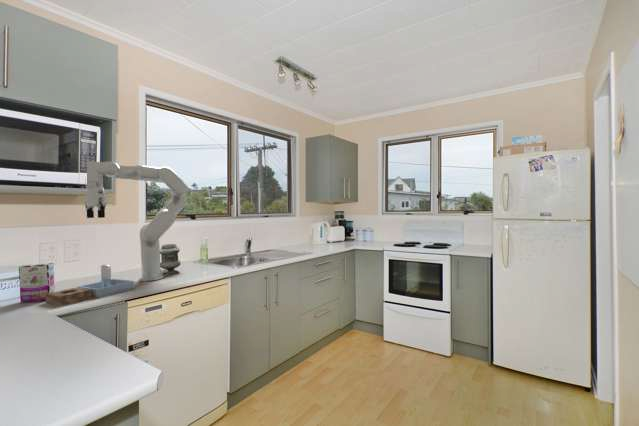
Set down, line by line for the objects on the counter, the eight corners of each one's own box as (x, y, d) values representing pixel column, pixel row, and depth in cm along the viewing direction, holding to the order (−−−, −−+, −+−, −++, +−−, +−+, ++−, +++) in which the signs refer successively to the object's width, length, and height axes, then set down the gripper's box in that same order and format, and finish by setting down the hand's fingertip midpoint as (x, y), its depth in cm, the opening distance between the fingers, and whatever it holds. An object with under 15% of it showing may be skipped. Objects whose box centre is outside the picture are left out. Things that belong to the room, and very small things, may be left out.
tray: (114, 286, 169) (114, 278, 169) (133, 288, 162) (133, 280, 162) (77, 294, 153) (77, 286, 153) (96, 298, 146) (96, 289, 146)
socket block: (76, 295, 151) (76, 287, 151) (91, 298, 146) (91, 289, 146) (45, 303, 140) (45, 293, 140) (60, 305, 135) (60, 296, 135)
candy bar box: (55, 297, 149) (54, 262, 149) (49, 300, 144) (48, 264, 144) (26, 300, 146) (25, 264, 146) (19, 303, 141) (18, 266, 141)
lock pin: (108, 288, 160) (107, 264, 160) (113, 289, 158) (112, 264, 158) (99, 290, 157) (99, 265, 157) (104, 290, 155) (103, 266, 155)
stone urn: (160, 272, 204) (158, 244, 204) (180, 270, 209) (179, 242, 209) (159, 275, 193) (158, 246, 193) (181, 273, 198) (180, 244, 198)
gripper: (111, 184, 169) (113, 217, 169) (92, 186, 177) (93, 217, 177) (96, 184, 162) (98, 217, 163) (77, 185, 170) (78, 218, 170)
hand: (95, 217), depth 170 cm, fingers open, 9 cm apart
